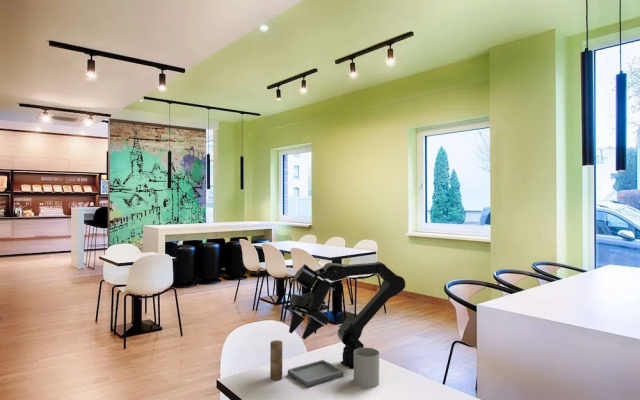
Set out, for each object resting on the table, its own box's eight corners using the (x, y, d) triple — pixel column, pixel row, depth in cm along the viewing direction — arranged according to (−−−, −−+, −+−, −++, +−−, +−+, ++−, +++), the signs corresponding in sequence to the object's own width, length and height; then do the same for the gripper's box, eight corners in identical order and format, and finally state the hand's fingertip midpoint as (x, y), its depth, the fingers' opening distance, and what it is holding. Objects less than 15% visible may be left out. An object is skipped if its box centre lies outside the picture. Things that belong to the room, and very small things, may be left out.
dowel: (278, 374, 138) (278, 339, 138) (284, 378, 135) (284, 342, 135) (268, 377, 136) (268, 341, 136) (274, 381, 133) (274, 345, 133)
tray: (322, 364, 147) (323, 359, 147) (343, 376, 137) (343, 370, 137) (287, 374, 138) (287, 369, 138) (307, 387, 128) (307, 382, 128)
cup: (378, 389, 128) (378, 357, 128) (352, 387, 129) (352, 355, 129) (379, 378, 136) (379, 348, 136) (355, 376, 137) (355, 346, 138)
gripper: (288, 280, 148) (267, 319, 143) (315, 287, 133) (292, 330, 127) (310, 295, 153) (290, 333, 147) (338, 303, 137) (317, 346, 132)
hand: (296, 335), depth 138 cm, fingers open, 9 cm apart
